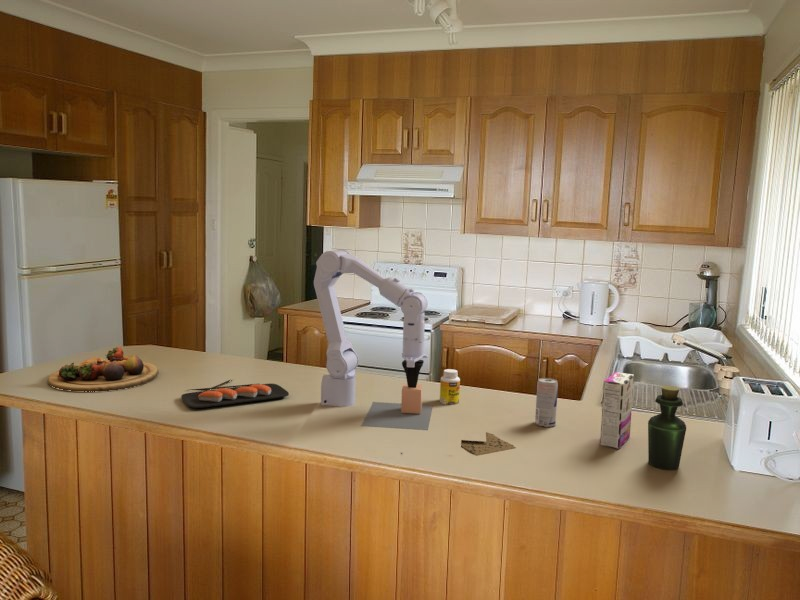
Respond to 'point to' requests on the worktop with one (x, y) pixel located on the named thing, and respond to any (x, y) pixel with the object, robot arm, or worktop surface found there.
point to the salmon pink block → (411, 399)
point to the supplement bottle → (450, 387)
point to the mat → (396, 417)
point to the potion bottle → (666, 431)
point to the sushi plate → (232, 395)
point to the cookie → (486, 445)
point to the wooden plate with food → (104, 373)
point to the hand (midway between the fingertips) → (412, 387)
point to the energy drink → (546, 402)
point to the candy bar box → (616, 409)
